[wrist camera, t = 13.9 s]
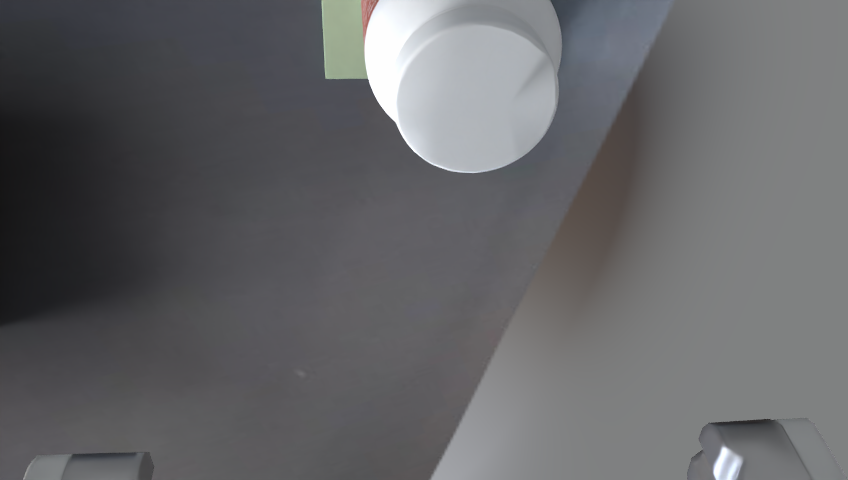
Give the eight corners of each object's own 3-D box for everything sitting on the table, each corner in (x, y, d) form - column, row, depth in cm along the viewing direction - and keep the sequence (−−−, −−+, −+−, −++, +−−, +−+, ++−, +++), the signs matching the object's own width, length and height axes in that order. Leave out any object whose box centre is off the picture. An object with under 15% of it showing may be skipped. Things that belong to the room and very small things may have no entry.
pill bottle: (407, 73, 34) (429, 228, 25) (328, -58, 30) (320, 68, 21) (543, 1, 32) (618, 138, 23) (476, -146, 29) (533, -50, 20)
